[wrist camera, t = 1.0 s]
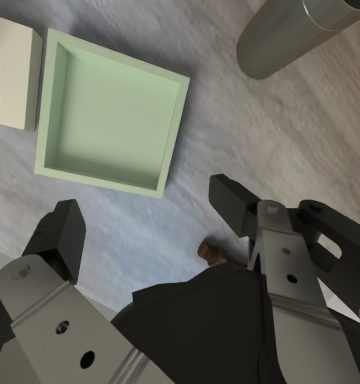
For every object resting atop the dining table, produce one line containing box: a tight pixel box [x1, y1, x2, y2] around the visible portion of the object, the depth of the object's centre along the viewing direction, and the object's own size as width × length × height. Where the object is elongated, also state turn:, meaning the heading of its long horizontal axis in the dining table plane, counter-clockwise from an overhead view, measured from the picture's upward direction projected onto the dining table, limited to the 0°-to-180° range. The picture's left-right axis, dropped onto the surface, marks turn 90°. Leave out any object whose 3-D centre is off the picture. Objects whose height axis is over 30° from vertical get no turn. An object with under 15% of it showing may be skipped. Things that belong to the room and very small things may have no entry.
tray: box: [34, 28, 190, 199], centre depth 30 cm, size 20×20×4 cm
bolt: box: [197, 243, 247, 269], centre depth 40 cm, size 6×5×15 cm
